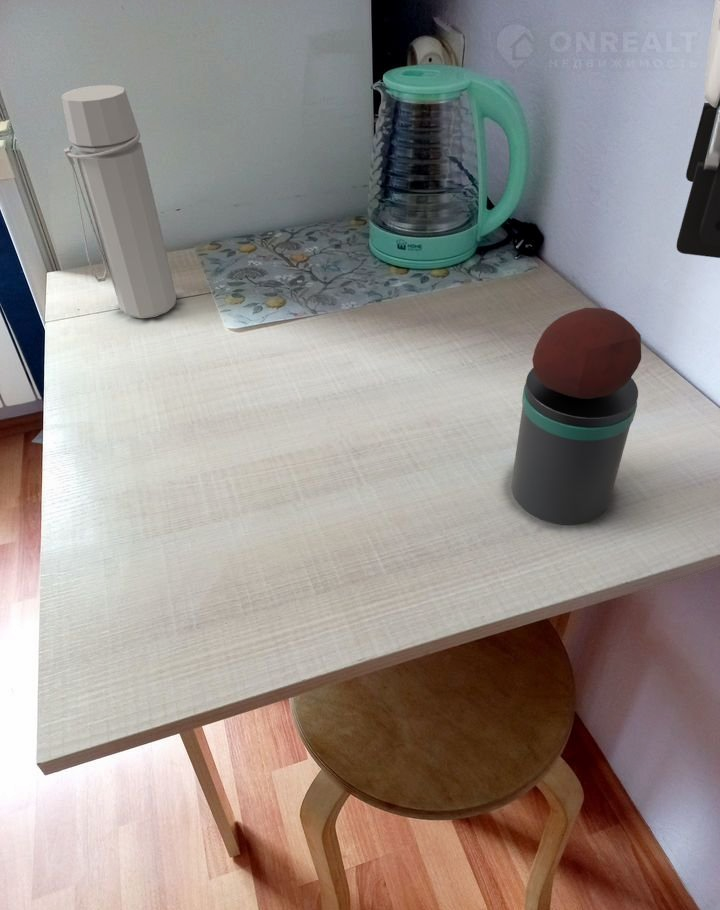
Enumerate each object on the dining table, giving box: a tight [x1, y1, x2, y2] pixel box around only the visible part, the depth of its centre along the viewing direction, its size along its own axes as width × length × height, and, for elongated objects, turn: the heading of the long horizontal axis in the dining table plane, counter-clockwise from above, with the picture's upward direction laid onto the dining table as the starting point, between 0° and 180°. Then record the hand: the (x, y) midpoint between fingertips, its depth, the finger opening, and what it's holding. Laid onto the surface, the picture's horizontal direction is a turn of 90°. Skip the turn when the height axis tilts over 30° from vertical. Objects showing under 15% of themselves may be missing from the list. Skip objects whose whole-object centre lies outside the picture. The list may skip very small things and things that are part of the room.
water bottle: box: [61, 84, 177, 319], centre depth 82 cm, size 9×8×25 cm
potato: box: [532, 307, 642, 399], centre depth 52 cm, size 7×8×6 cm
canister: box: [511, 367, 639, 526], centre depth 58 cm, size 9×9×11 cm
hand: (713, 214), depth 36 cm, fingers open, 9 cm apart
